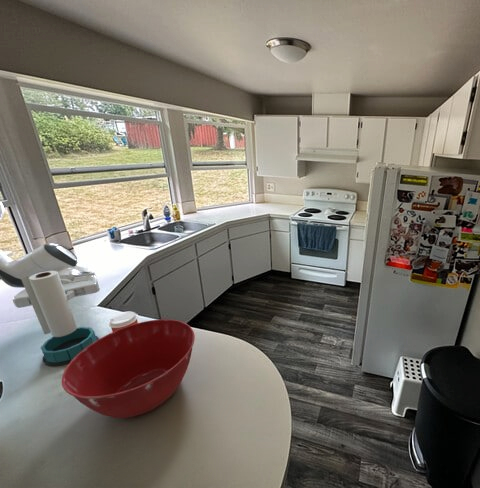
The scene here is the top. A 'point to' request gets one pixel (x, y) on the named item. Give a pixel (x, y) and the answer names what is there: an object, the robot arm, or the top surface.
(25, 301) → the robot arm
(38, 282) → the paper towel roll
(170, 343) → the mixing bowl
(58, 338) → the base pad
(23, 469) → the top surface
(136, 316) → the paper cup
